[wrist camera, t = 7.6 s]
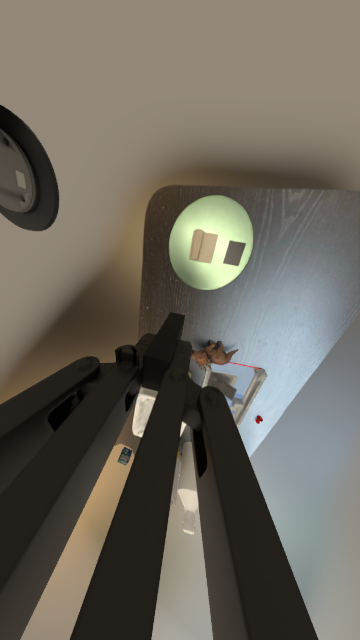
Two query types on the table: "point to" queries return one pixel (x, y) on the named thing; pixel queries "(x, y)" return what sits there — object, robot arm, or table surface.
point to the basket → (145, 410)
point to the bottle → (188, 487)
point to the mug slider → (202, 246)
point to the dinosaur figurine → (211, 355)
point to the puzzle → (125, 456)
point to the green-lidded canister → (230, 247)
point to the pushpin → (259, 419)
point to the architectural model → (236, 385)
